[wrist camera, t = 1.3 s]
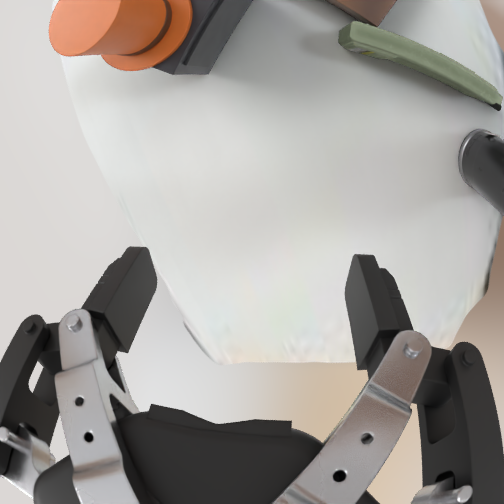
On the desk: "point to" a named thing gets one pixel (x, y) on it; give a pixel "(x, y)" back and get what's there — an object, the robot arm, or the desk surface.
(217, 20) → the dark grey cube pedestal
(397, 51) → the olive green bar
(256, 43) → the desk surface
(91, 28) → the hat
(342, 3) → the stand
